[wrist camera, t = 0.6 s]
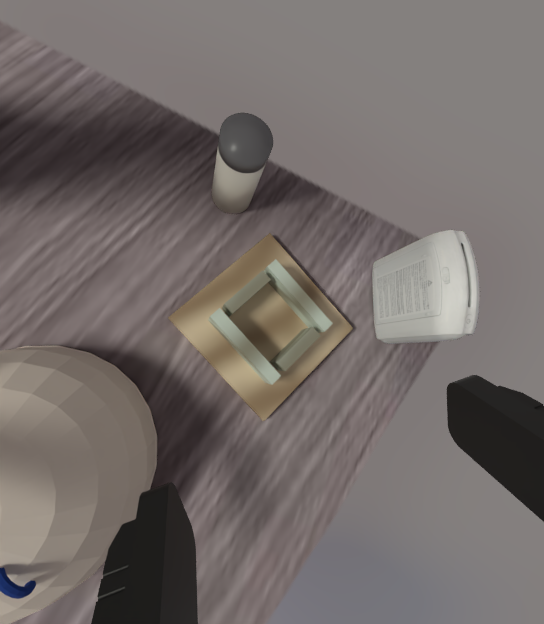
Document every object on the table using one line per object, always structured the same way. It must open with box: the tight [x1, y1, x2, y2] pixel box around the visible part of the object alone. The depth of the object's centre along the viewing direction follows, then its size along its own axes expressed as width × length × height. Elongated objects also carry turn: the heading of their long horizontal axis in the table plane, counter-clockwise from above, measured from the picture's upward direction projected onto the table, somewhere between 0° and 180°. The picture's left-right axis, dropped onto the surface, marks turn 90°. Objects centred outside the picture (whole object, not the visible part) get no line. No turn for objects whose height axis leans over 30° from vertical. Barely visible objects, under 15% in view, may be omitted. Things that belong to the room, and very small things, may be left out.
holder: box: [168, 233, 353, 421], centre depth 34 cm, size 14×14×4 cm
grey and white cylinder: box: [211, 113, 273, 214], centre depth 32 cm, size 4×4×10 cm
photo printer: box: [372, 230, 480, 344], centre depth 34 cm, size 10×4×12 cm, turn 1°
